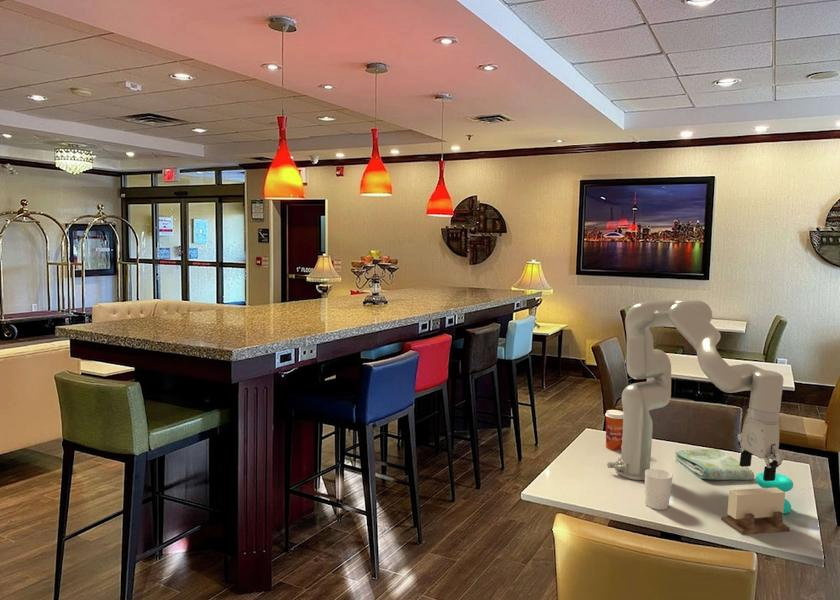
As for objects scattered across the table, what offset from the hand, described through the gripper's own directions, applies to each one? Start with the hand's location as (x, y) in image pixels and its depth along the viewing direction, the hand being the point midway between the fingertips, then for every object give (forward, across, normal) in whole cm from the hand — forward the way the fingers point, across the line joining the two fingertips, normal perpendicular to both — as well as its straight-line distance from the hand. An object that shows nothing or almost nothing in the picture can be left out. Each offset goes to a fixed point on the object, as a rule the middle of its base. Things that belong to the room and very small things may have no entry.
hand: (756, 473), depth 179 cm
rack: (+15, +1, 0) cm, 15 cm away
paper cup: (+18, -64, -10) cm, 67 cm away
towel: (+17, -39, +15) cm, 45 cm away
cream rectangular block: (+12, +1, 0) cm, 12 cm away
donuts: (+16, -8, +13) cm, 22 cm away
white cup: (+16, -15, -21) cm, 30 cm away
